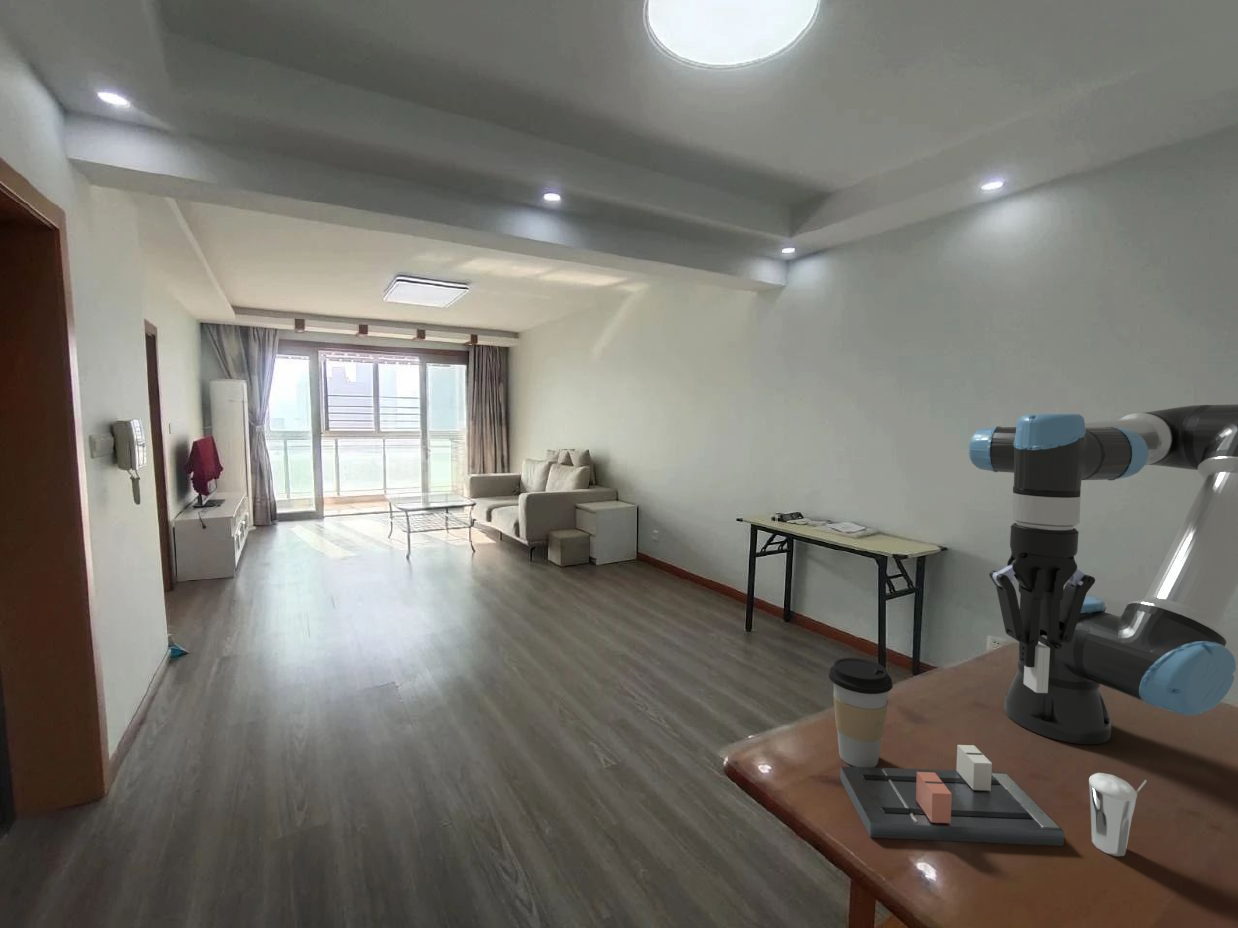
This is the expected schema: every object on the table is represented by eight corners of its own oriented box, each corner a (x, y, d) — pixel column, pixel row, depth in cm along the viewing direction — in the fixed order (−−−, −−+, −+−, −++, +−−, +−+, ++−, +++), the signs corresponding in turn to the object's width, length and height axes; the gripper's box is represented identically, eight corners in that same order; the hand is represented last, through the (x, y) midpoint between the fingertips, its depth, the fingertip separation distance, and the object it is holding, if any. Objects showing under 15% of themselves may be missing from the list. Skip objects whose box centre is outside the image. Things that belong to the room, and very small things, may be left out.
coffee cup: (897, 779, 84) (900, 683, 83) (832, 771, 86) (834, 678, 85) (881, 743, 94) (884, 657, 93) (822, 737, 96) (824, 653, 94)
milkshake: (1146, 869, 67) (1151, 790, 66) (1088, 851, 70) (1093, 775, 69) (1136, 845, 71) (1141, 770, 70) (1082, 828, 74) (1086, 757, 73)
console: (1004, 785, 83) (1005, 771, 83) (1063, 845, 71) (1064, 830, 71) (840, 778, 85) (840, 765, 84) (870, 837, 73) (870, 821, 73)
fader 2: (973, 770, 83) (974, 744, 83) (990, 790, 78) (991, 762, 78) (956, 770, 83) (957, 744, 83) (973, 789, 79) (974, 762, 78)
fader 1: (933, 800, 76) (934, 771, 76) (950, 823, 72) (951, 793, 72) (915, 799, 77) (916, 771, 76) (931, 822, 72) (932, 792, 72)
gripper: (1073, 520, 81) (1064, 677, 82) (979, 519, 82) (972, 675, 83) (1115, 530, 73) (1104, 702, 75) (1011, 529, 74) (1003, 699, 76)
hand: (1035, 688), depth 79 cm, fingers closed
